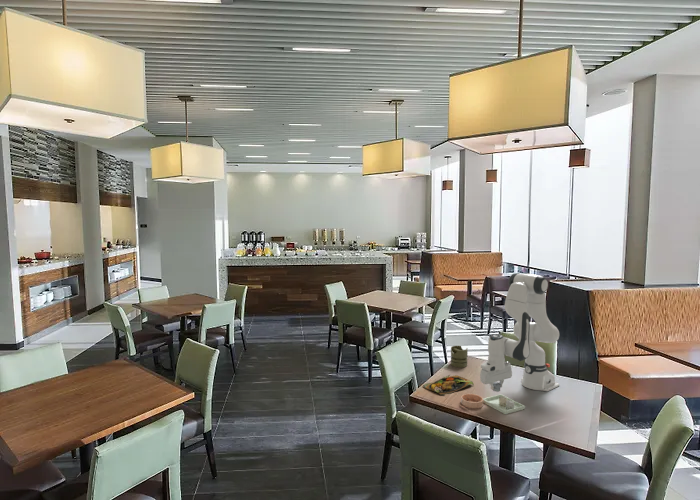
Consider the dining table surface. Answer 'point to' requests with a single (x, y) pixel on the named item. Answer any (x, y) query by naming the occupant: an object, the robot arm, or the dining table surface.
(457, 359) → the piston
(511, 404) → the pebble grey
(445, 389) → the prepared meal
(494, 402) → the parts tray
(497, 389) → the pebble slate
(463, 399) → the bowl
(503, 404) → the pebble sand
